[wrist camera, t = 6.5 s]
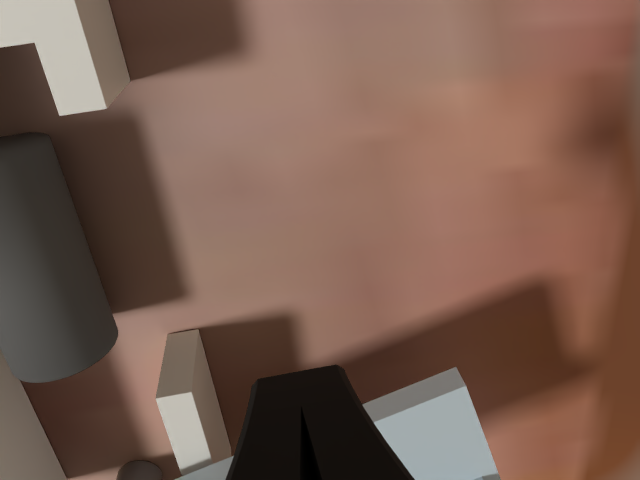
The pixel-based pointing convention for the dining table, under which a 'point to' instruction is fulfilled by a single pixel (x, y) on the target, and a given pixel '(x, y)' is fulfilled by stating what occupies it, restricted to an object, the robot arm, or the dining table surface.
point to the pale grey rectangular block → (181, 348)
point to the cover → (421, 432)
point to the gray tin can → (46, 269)
